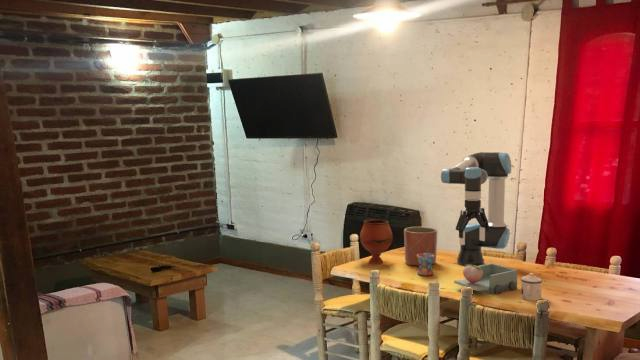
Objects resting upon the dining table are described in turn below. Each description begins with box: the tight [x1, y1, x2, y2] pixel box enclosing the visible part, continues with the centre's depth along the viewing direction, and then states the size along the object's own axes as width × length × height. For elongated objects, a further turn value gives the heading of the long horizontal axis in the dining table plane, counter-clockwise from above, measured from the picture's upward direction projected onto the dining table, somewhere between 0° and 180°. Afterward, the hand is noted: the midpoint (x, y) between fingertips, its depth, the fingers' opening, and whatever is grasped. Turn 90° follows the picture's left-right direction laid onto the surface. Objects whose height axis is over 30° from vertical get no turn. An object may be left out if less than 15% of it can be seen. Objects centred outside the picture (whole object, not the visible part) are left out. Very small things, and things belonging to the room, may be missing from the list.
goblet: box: [359, 219, 394, 265], centre depth 307 cm, size 19×19×25 cm
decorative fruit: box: [462, 263, 483, 284], centre depth 252 cm, size 9×8×10 cm
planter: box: [403, 226, 438, 267], centre depth 305 cm, size 19×19×20 cm
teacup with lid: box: [520, 272, 543, 302], centre depth 240 cm, size 12×9×12 cm
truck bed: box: [476, 262, 518, 295], centre depth 258 cm, size 18×19×9 cm
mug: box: [416, 253, 434, 277], centre depth 283 cm, size 12×9×11 cm
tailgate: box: [453, 278, 489, 292], centre depth 251 cm, size 2×15×8 cm
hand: (472, 242), depth 254 cm, fingers open, 13 cm apart
